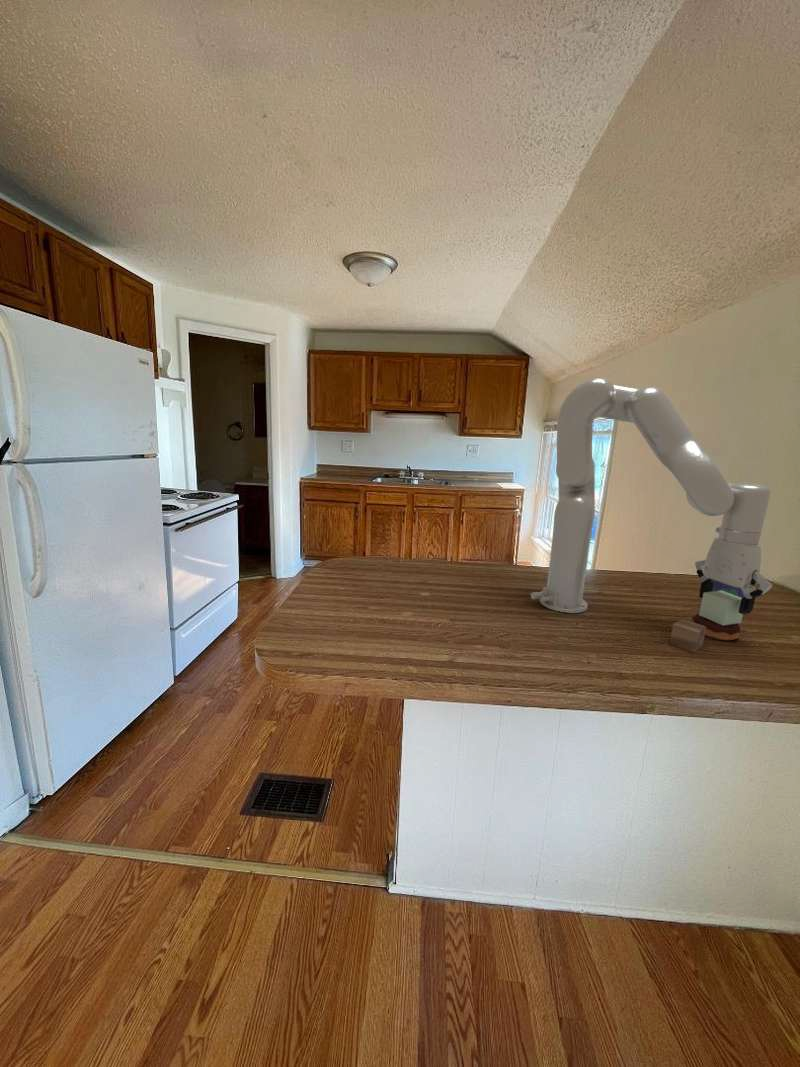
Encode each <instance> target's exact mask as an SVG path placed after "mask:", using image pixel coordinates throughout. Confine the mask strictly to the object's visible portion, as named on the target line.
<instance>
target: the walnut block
mask: <svg viewBox="0 0 800 1067" xmlns="http://www.w3.org/2000/svg"><path fill="white" fill-rule="evenodd" d="M705 631H706V626H703V625H699V624H696V623H693V622H692V621H690V620H686V619H683V618H681V619H680V620H678V621H676V622H674V623H673V624H672V630H671V634H670V639H669V644H670V645H672V646H674V647H677V648H680V649H683V650H686V651H688V652H691V653H696V652H698V650H699V649H701V648H702V647H703V644H704V639H705V637H706V636H705Z"/></svg>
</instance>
